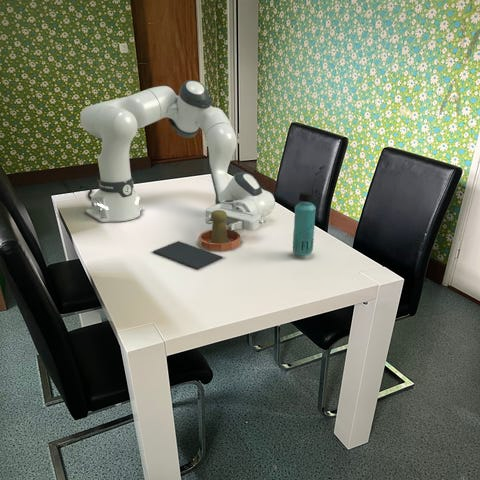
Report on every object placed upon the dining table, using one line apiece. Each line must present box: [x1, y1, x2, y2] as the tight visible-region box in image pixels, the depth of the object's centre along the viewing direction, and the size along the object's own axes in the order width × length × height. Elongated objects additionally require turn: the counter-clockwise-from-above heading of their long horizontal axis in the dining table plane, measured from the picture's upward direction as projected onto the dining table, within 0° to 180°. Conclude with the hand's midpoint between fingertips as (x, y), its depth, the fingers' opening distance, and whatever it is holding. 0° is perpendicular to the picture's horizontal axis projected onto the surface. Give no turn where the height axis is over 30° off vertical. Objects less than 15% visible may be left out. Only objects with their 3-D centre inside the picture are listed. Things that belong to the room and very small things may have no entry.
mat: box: [152, 240, 223, 270], centre depth 147 cm, size 20×11×1 cm, turn 49°
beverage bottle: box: [292, 190, 317, 256], centre depth 141 cm, size 6×7×20 cm
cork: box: [210, 210, 229, 244], centre depth 152 cm, size 6×6×11 cm
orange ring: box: [197, 229, 242, 252], centre depth 154 cm, size 14×14×2 cm
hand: (218, 224), depth 151 cm, fingers open, 8 cm apart
